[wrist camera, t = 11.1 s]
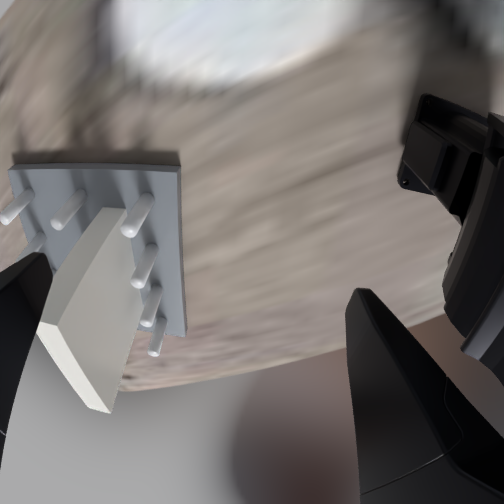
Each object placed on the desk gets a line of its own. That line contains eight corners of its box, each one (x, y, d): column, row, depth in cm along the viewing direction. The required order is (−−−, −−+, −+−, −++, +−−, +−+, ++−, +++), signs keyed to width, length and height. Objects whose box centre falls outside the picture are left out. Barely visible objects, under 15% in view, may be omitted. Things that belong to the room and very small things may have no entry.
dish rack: (180, 166, 19) (160, 200, 15) (187, 328, 29) (178, 369, 25) (15, 164, 18) (-21, 193, 15) (61, 307, 28) (44, 339, 25)
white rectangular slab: (126, 208, 20) (56, 326, 12) (143, 309, 26) (111, 413, 18) (102, 207, 20) (28, 318, 12) (124, 306, 26) (88, 407, 18)
